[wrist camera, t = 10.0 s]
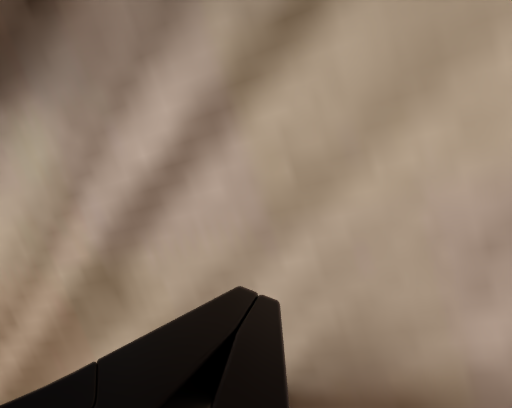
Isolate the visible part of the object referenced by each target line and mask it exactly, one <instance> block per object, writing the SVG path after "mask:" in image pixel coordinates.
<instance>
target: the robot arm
mask: <svg viewBox="0 0 512 408" xmlns="http://www.w3.org/2000/svg"><path fill="white" fill-rule="evenodd" d="M0 408H289V397H288V387H287V376H286V365H285V354H284V344H283V333H282V322H281V311H280V304H279V302H278V301H277V300H275V299H272V298H270V297H267V296H265V295H259V296H258V294H257V293H256V292H254V291H252V290H249V289H247V288H244V287H241V286H239V287H236V288H234V289H232V290H230V291H228V292H226V293H224V294H222V295H220V296H219V297H217V298H215V299H213V300H211V301H209V302H207V303H205V304H203V305H201V306H199V307H198V308H196V309H194V310H192V311H190V312H188V313H186V314H184V315H182V316H180V317H178V318H177V319H175V320H173V321H171V322H169V323H167V324H165V325H163V326H161V327H159V328H157V329H156V330H154V331H152V332H150V333H148V334H146V335H144V336H142V337H140V338H138V339H136V340H134V341H133V342H131V343H129V344H127V345H125V346H123V347H121V348H119V349H117V350H115V351H113V352H112V353H110V354H108V355H106V356H104V357H102V358H100V359H98V361H97V363H96V362H92V363H90V364H88V365H86V366H84V367H82V368H81V369H79V370H77V371H75V372H73V373H71V374H69V375H67V376H65V377H63V378H61V379H59V380H56V381H54V382H52V383H50V384H48V385H46V386H44V387H42V388H40V389H37V390H35V391H33V392H30V393H28V394H26V395H23V396H21V397H19V398H16V399H14V400H12V401H10V402H7V403H5V404H2V405H0Z"/></svg>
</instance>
